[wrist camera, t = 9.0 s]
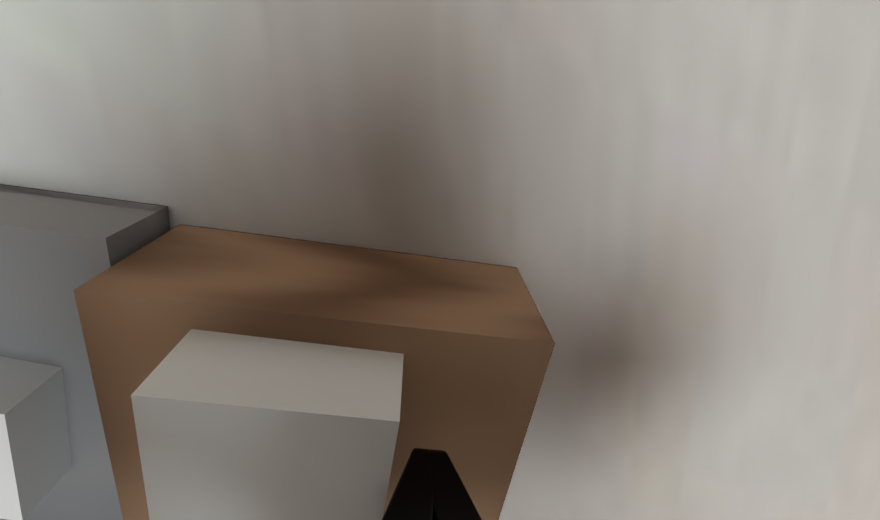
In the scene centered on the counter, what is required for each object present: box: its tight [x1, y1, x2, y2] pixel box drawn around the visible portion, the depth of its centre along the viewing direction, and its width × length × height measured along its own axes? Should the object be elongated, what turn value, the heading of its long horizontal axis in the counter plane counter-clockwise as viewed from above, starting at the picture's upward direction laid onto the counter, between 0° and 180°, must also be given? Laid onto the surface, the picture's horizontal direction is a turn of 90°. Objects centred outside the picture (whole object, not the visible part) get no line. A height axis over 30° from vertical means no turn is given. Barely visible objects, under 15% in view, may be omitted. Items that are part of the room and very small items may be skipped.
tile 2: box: [131, 329, 404, 520], centre depth 9 cm, size 4×4×2 cm
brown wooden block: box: [74, 225, 555, 520], centre depth 13 cm, size 10×12×4 cm
